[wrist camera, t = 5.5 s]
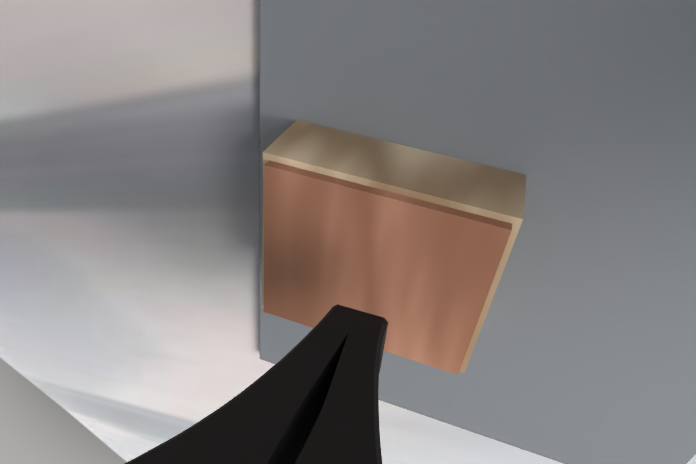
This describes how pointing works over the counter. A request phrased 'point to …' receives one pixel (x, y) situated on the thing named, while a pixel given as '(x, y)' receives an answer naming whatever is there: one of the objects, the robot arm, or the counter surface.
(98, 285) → the counter surface
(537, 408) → the mat
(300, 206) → the brown wooden block
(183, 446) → the robot arm
